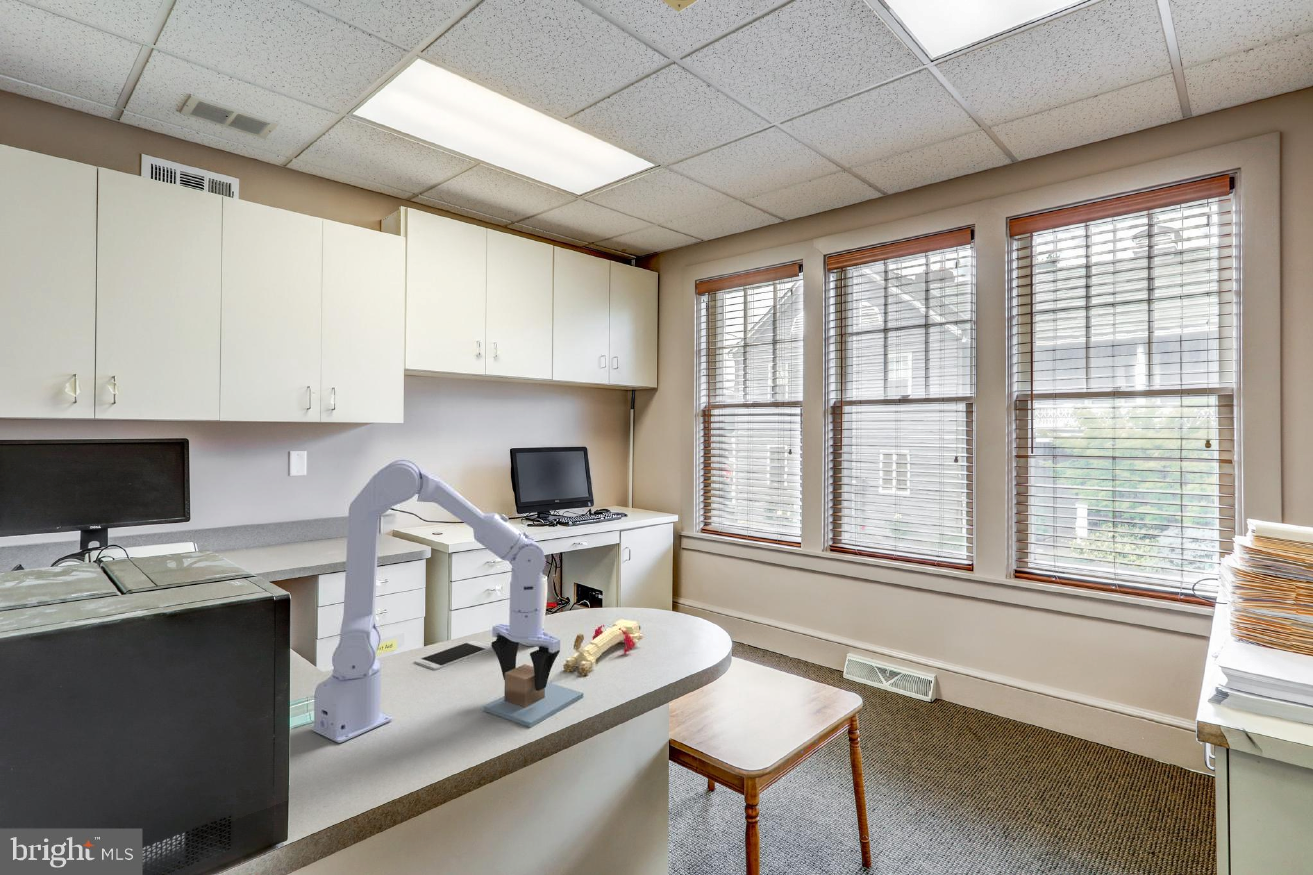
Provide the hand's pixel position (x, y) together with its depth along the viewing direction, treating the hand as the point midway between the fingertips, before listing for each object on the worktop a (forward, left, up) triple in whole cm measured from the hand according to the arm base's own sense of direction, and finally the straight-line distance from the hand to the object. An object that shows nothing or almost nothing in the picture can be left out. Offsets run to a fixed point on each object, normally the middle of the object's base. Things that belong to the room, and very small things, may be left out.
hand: (524, 683), depth 114 cm
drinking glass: (+24, +20, -4) cm, 32 cm away
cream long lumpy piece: (+28, +2, -4) cm, 29 cm away
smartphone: (+9, +28, -4) cm, 30 cm away
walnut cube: (0, 0, -3) cm, 3 cm away
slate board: (+1, -2, -4) cm, 4 cm away
